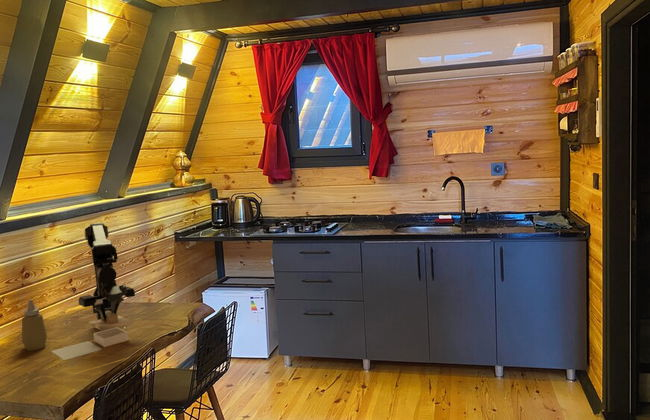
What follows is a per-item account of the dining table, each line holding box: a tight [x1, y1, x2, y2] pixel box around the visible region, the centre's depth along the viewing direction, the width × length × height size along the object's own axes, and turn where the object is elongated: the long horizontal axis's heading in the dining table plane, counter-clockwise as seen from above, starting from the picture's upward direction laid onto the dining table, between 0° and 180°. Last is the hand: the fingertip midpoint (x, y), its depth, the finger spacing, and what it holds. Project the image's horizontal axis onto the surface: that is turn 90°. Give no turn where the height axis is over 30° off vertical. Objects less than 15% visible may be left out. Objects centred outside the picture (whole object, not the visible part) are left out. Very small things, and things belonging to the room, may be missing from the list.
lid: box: [88, 310, 132, 331], centre depth 210 cm, size 11×11×4 cm
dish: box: [93, 326, 129, 348], centre depth 211 cm, size 9×9×4 cm
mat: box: [51, 340, 103, 361], centre depth 203 cm, size 13×13×1 cm
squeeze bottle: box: [21, 299, 48, 351], centre depth 206 cm, size 8×8×18 cm
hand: (109, 319), depth 210 cm, fingers closed on lid, 3 cm apart
